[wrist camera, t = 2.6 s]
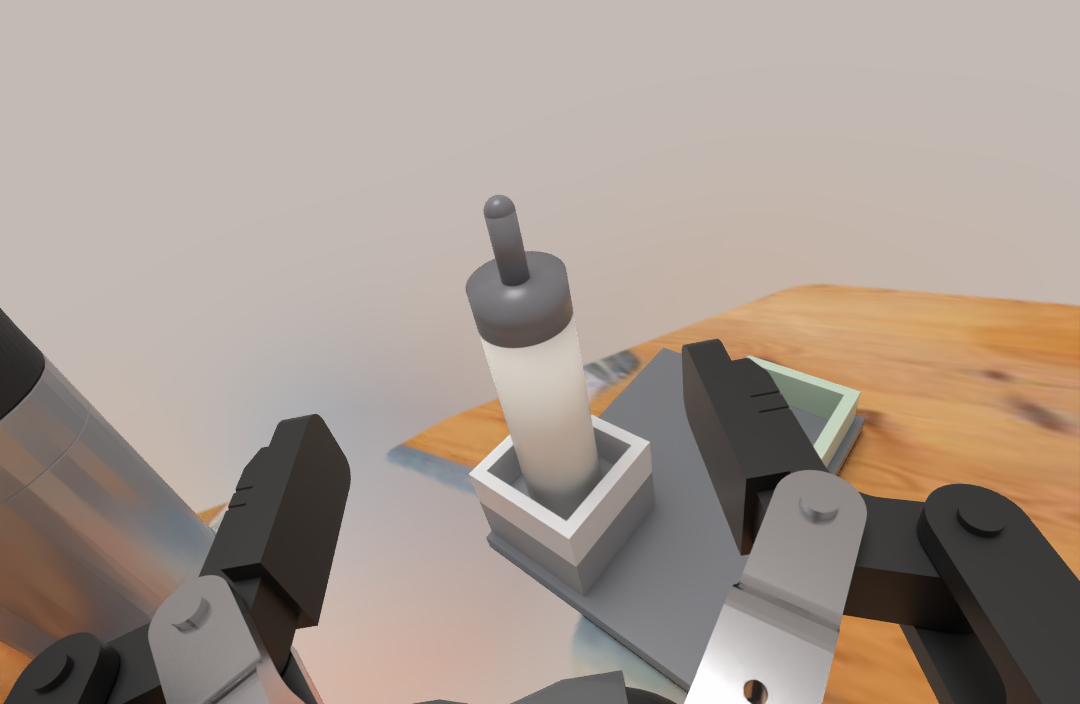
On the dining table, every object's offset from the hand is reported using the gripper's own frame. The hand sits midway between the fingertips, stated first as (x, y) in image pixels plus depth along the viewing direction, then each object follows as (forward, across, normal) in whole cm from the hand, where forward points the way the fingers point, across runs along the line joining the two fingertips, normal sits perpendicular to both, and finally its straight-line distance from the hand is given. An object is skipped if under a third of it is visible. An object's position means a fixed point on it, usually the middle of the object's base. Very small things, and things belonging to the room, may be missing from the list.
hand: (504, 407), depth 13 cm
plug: (+11, 0, +17) cm, 21 cm away
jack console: (+13, -7, +22) cm, 26 cm away
